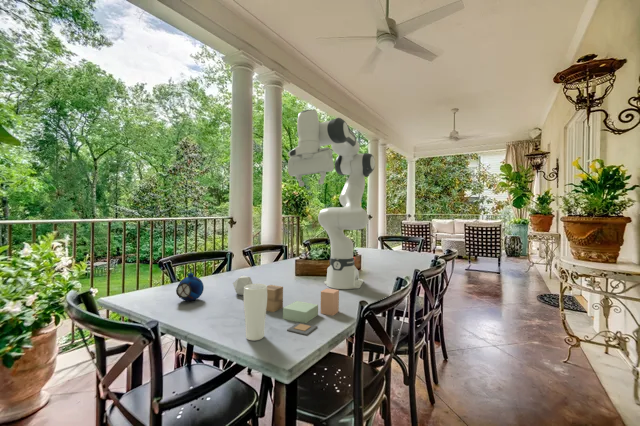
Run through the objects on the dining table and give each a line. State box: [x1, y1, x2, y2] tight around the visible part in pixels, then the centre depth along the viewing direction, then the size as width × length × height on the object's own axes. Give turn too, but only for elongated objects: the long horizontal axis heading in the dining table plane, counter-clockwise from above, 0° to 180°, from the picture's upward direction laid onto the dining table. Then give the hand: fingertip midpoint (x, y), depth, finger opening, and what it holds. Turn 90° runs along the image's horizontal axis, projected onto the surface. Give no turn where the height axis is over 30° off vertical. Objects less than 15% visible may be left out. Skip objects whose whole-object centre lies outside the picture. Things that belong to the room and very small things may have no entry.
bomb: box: [175, 264, 205, 302], centre depth 119 cm, size 10×11×15 cm
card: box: [286, 322, 318, 336], centre depth 93 cm, size 7×7×1 cm
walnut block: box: [266, 284, 284, 313], centre depth 112 cm, size 6×6×8 cm
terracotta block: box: [320, 287, 340, 316], centre depth 108 cm, size 5×5×8 cm
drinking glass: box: [243, 283, 268, 342], centre depth 86 cm, size 7×7×15 cm
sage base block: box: [282, 300, 319, 324], centre depth 103 cm, size 9×9×4 cm
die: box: [232, 275, 254, 297], centre depth 130 cm, size 8×9×10 cm
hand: (311, 185), depth 118 cm, fingers open, 8 cm apart
